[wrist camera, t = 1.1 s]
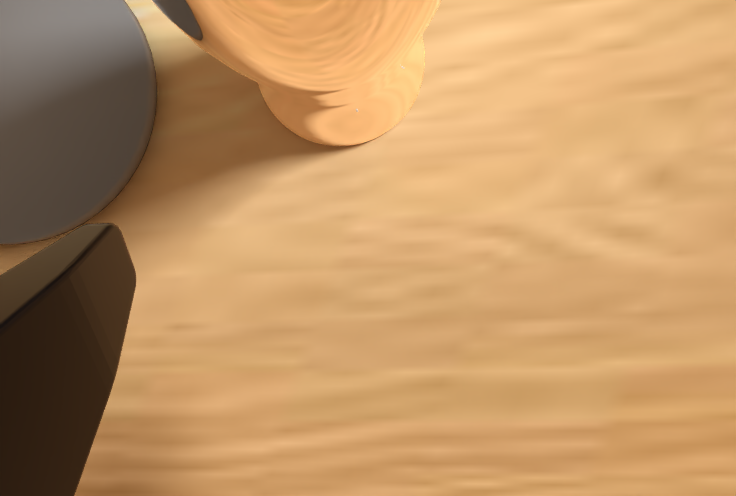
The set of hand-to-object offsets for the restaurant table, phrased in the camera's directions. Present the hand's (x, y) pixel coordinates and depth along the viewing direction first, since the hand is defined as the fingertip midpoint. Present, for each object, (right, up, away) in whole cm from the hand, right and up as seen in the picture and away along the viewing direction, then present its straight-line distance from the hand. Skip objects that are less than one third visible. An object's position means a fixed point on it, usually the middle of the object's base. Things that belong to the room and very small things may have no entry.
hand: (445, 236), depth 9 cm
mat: (-14, +5, +15) cm, 21 cm away
